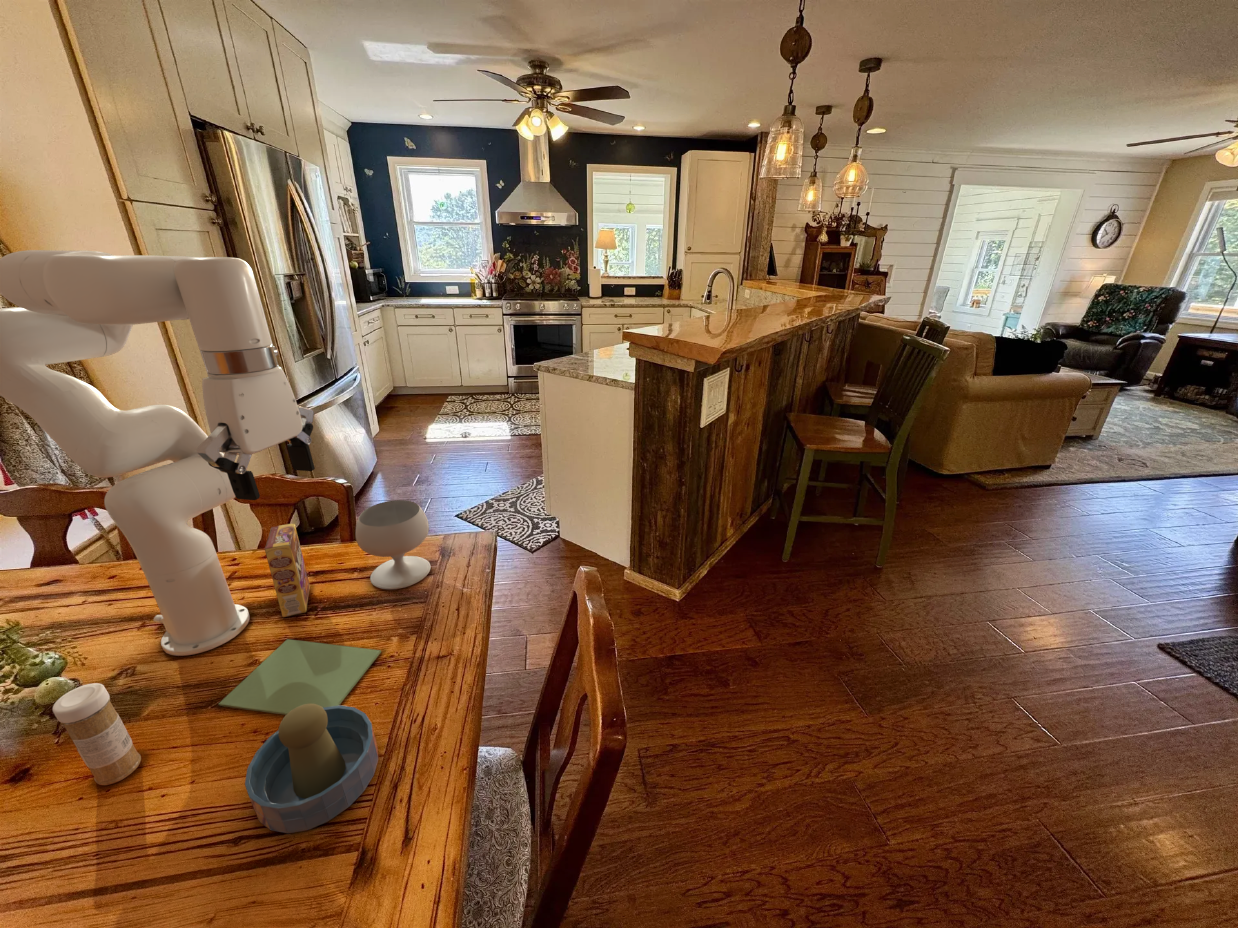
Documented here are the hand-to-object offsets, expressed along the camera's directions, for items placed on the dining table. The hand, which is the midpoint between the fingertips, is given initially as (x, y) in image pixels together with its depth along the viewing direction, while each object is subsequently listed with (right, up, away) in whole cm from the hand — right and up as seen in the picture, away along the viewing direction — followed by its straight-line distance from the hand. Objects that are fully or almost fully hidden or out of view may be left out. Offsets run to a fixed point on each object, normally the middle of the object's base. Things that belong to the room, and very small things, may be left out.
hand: (278, 483), depth 69 cm
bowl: (+8, -39, -4) cm, 40 cm away
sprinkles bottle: (-19, -38, -4) cm, 43 cm away
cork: (+8, -39, -4) cm, 40 cm away
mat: (-3, -32, +11) cm, 34 cm away
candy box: (-16, -25, +29) cm, 41 cm away
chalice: (+1, -21, +38) cm, 43 cm away
